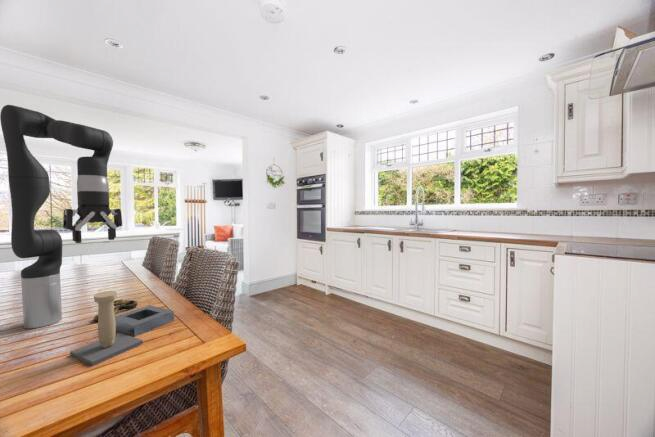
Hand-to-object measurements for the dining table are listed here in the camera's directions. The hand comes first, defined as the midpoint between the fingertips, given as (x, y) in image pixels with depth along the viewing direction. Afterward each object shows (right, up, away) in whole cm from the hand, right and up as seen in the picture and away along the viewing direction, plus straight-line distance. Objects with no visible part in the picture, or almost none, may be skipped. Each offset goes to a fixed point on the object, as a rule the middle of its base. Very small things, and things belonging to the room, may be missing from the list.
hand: (95, 241), depth 83 cm
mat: (+11, -30, -8) cm, 33 cm away
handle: (+11, -30, -8) cm, 33 cm away
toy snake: (-9, -30, +19) cm, 37 cm away
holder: (+10, -30, +8) cm, 32 cm away
